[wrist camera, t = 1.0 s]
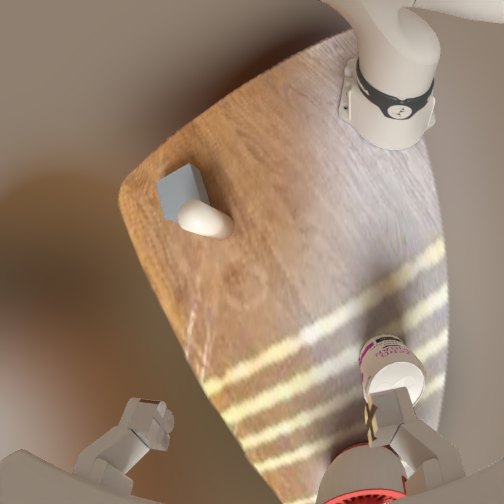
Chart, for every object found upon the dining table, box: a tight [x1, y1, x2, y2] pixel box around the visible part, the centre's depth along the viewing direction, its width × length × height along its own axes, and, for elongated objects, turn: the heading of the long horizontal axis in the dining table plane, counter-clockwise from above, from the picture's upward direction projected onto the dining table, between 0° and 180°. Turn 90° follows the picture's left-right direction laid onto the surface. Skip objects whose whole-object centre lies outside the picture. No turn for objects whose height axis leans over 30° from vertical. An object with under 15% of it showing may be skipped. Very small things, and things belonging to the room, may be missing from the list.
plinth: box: [156, 163, 211, 222], centre depth 53 cm, size 8×8×4 cm
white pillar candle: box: [178, 199, 234, 240], centre depth 47 cm, size 5×5×11 cm
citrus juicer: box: [316, 442, 408, 504], centre depth 30 cm, size 16×17×20 cm
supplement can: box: [359, 334, 426, 406], centre depth 35 cm, size 8×8×15 cm
